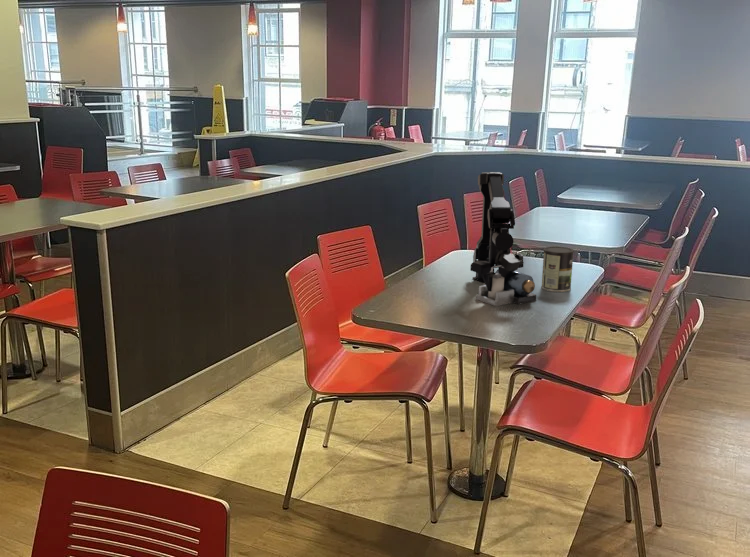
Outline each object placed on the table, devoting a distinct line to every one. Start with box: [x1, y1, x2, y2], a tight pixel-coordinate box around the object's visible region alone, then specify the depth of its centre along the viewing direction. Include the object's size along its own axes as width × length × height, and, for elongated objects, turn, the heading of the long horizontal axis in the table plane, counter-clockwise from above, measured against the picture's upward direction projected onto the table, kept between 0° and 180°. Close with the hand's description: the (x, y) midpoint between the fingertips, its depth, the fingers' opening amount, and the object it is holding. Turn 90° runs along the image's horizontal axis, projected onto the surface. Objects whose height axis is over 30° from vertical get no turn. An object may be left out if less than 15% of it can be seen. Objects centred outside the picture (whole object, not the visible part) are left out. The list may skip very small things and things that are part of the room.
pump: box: [488, 273, 504, 300], centre depth 230 cm, size 5×5×8 cm
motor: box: [475, 269, 537, 307], centre depth 232 cm, size 15×16×9 cm
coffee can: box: [541, 246, 575, 293], centre depth 245 cm, size 10×10×14 cm
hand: (495, 290), depth 230 cm, fingers open, 5 cm apart
